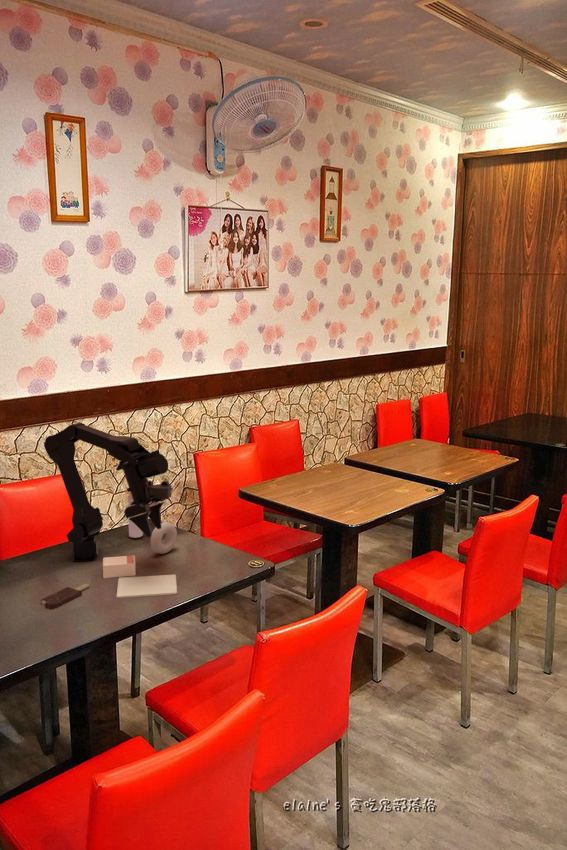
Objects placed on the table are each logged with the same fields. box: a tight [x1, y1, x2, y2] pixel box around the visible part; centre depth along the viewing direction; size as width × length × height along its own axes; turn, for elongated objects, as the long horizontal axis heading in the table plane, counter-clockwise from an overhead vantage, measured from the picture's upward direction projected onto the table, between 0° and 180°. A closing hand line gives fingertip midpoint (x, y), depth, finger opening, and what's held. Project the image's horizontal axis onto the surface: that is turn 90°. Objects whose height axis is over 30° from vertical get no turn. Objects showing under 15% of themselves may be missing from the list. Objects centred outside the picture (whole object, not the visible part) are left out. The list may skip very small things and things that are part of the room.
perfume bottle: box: [125, 489, 144, 539], centre depth 231 cm, size 6×6×20 cm
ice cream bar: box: [40, 583, 90, 610], centre depth 190 cm, size 5×2×15 cm
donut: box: [149, 521, 178, 555], centre depth 220 cm, size 10×4×10 cm, turn 143°
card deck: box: [102, 554, 137, 579], centre depth 206 cm, size 9×6×4 cm, turn 103°
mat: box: [116, 574, 178, 599], centre depth 197 cm, size 16×12×1 cm
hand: (154, 532), depth 203 cm, fingers open, 9 cm apart
